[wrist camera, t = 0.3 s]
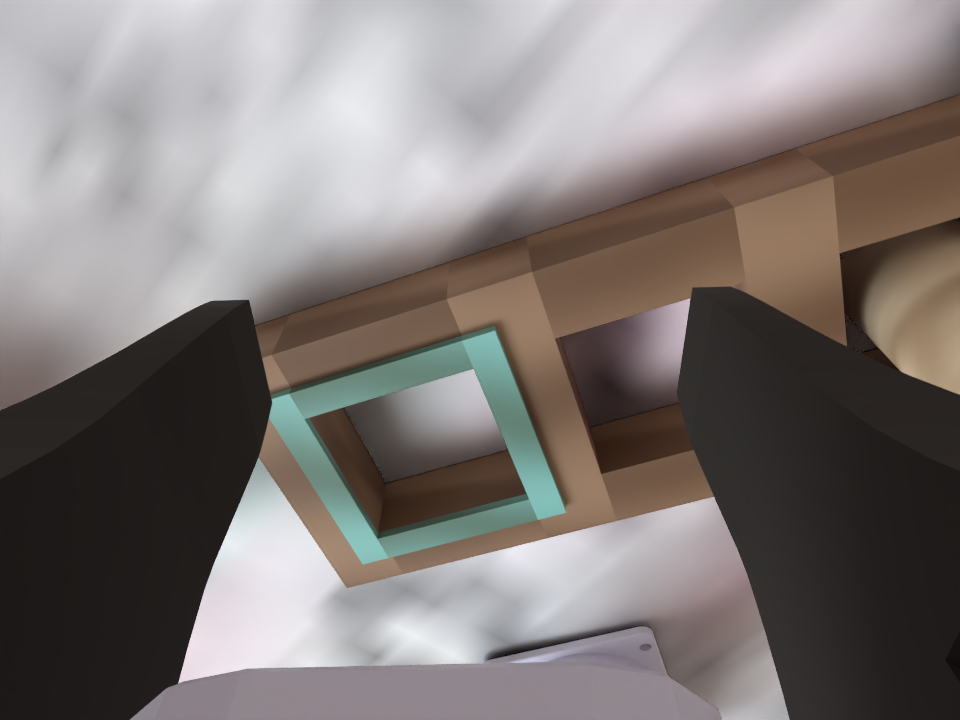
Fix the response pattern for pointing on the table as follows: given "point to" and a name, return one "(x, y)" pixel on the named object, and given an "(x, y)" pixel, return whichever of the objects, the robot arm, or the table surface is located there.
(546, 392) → the rail
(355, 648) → the table surface
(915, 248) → the peg
